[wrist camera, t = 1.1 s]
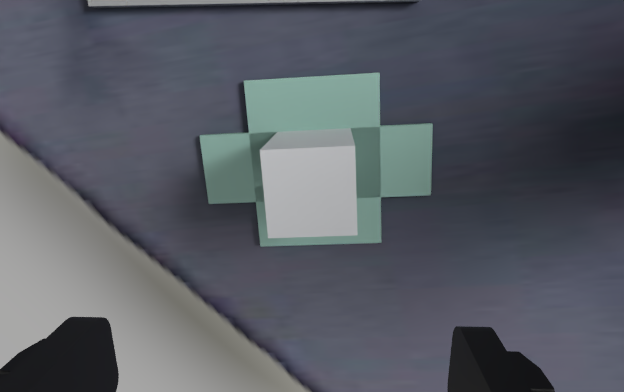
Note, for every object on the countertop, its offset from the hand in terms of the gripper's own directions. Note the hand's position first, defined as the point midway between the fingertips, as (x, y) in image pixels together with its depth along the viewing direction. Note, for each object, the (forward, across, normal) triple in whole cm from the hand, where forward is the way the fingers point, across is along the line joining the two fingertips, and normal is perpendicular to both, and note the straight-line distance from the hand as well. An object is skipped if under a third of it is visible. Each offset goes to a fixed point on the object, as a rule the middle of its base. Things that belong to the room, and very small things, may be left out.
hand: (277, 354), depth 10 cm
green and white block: (+21, 0, 0) cm, 21 cm away
